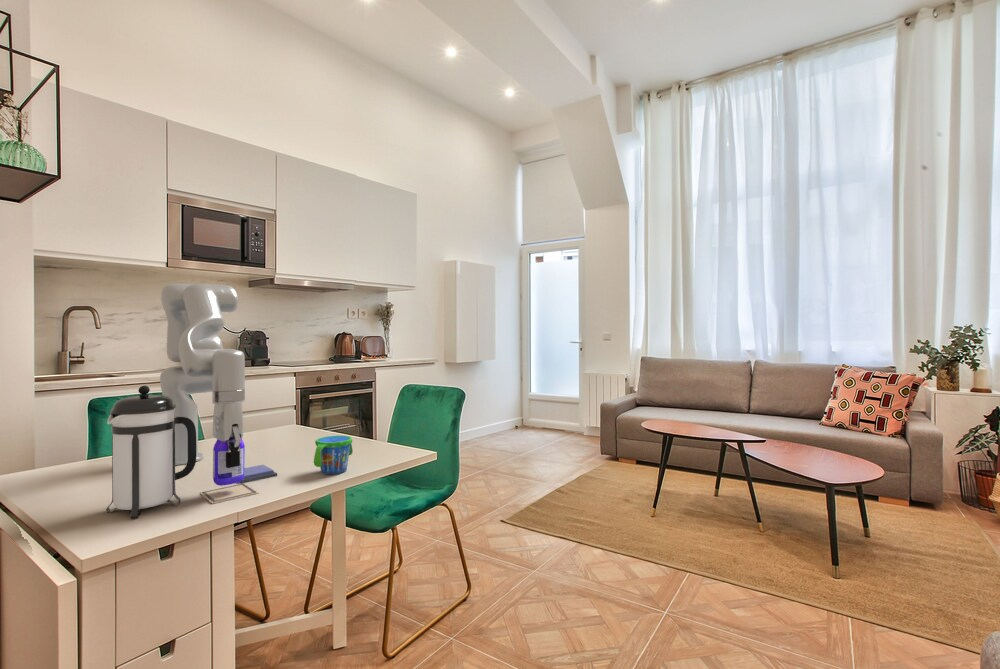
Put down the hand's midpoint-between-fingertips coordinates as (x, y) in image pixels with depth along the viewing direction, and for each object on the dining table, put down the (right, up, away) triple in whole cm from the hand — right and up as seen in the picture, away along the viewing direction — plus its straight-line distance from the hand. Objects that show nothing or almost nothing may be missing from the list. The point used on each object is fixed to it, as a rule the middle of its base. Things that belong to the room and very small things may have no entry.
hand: (229, 463), depth 127 cm
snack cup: (+21, -8, +20) cm, 30 cm away
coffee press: (-14, -8, -9) cm, 19 cm away
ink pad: (-1, -8, +16) cm, 17 cm away
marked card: (0, -8, 0) cm, 8 cm away
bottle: (0, -5, 0) cm, 5 cm away
